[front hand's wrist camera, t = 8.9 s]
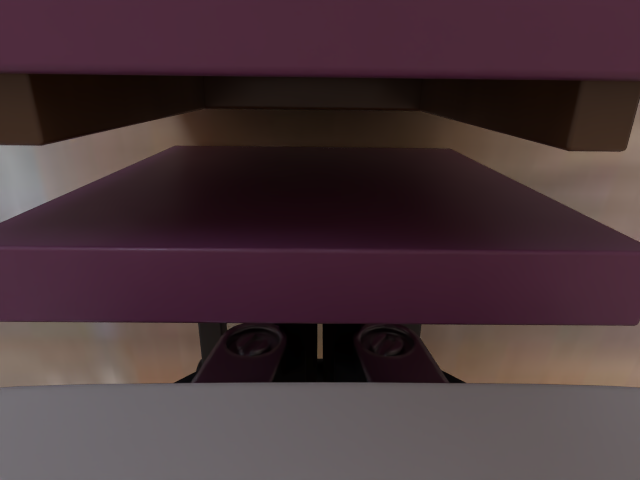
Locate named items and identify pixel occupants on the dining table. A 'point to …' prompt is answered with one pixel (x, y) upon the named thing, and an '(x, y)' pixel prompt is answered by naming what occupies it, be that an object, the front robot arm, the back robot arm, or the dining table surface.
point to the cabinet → (325, 38)
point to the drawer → (315, 211)
